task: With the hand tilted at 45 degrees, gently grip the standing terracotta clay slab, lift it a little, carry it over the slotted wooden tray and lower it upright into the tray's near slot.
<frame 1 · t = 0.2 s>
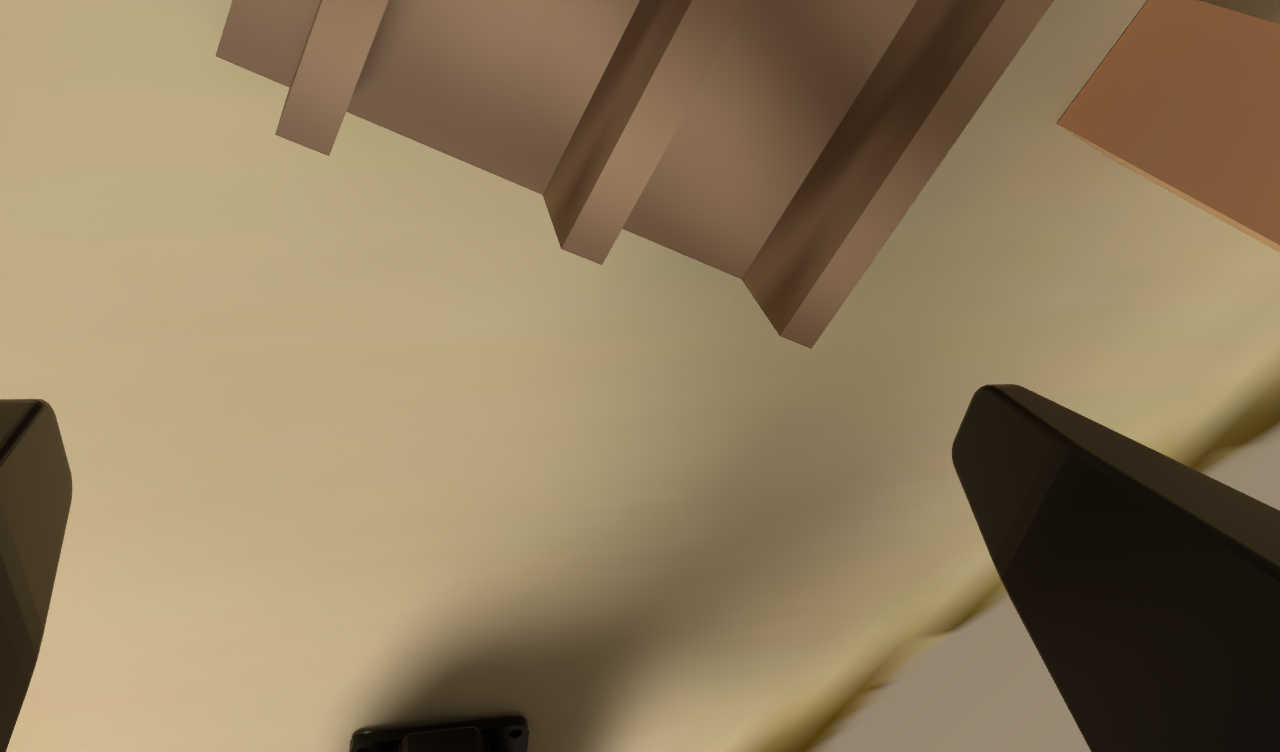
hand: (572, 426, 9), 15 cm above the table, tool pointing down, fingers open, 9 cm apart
clay slab: (1139, 81, 25), on the table
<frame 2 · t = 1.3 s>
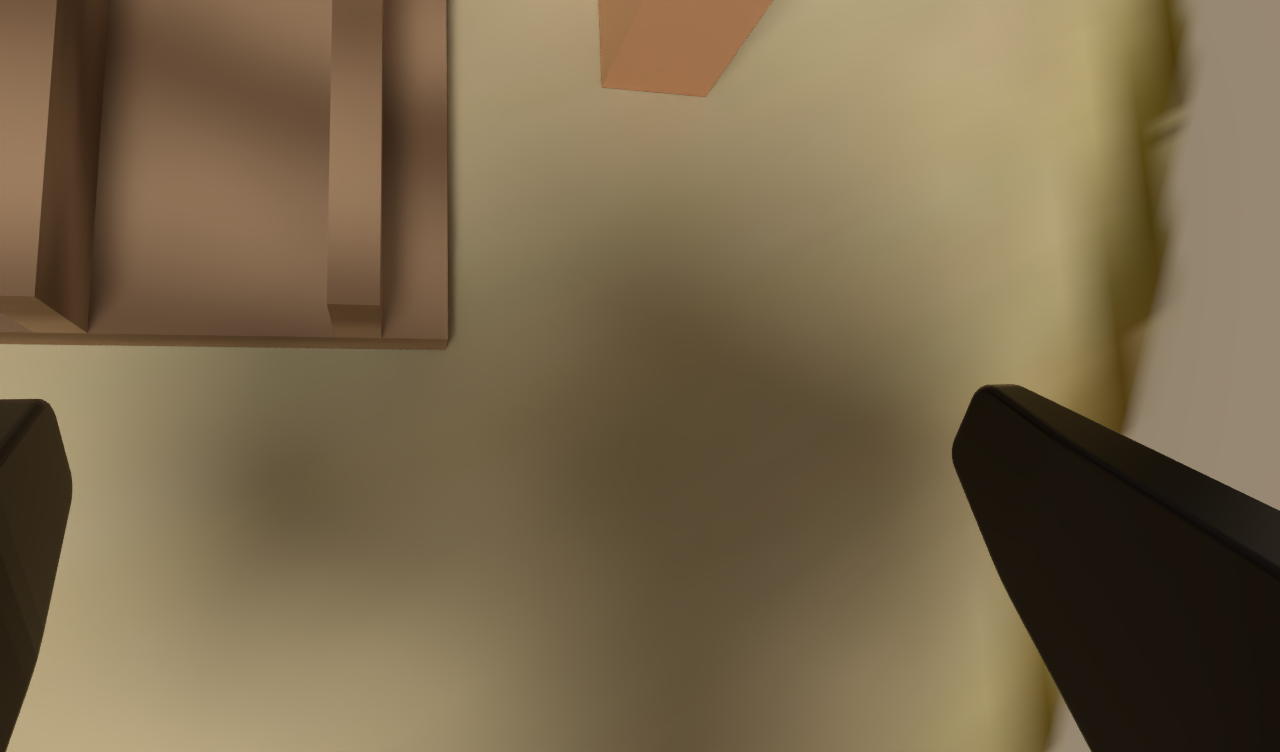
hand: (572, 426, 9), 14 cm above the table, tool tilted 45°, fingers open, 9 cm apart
clay slab: (651, 25, 25), on the table
slotted wooden tray: (95, 94, 21), on the table
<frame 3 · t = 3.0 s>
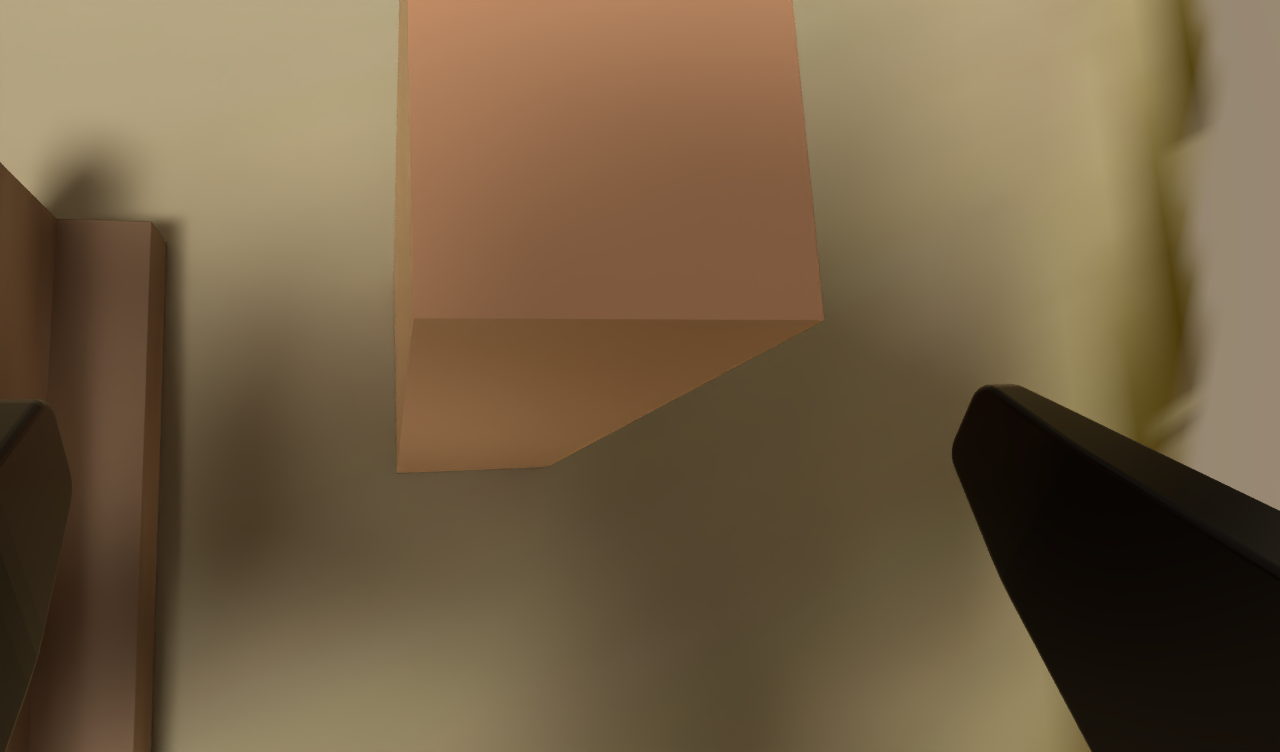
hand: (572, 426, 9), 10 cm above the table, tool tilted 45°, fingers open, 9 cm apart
clay slab: (470, 372, 19), on the table
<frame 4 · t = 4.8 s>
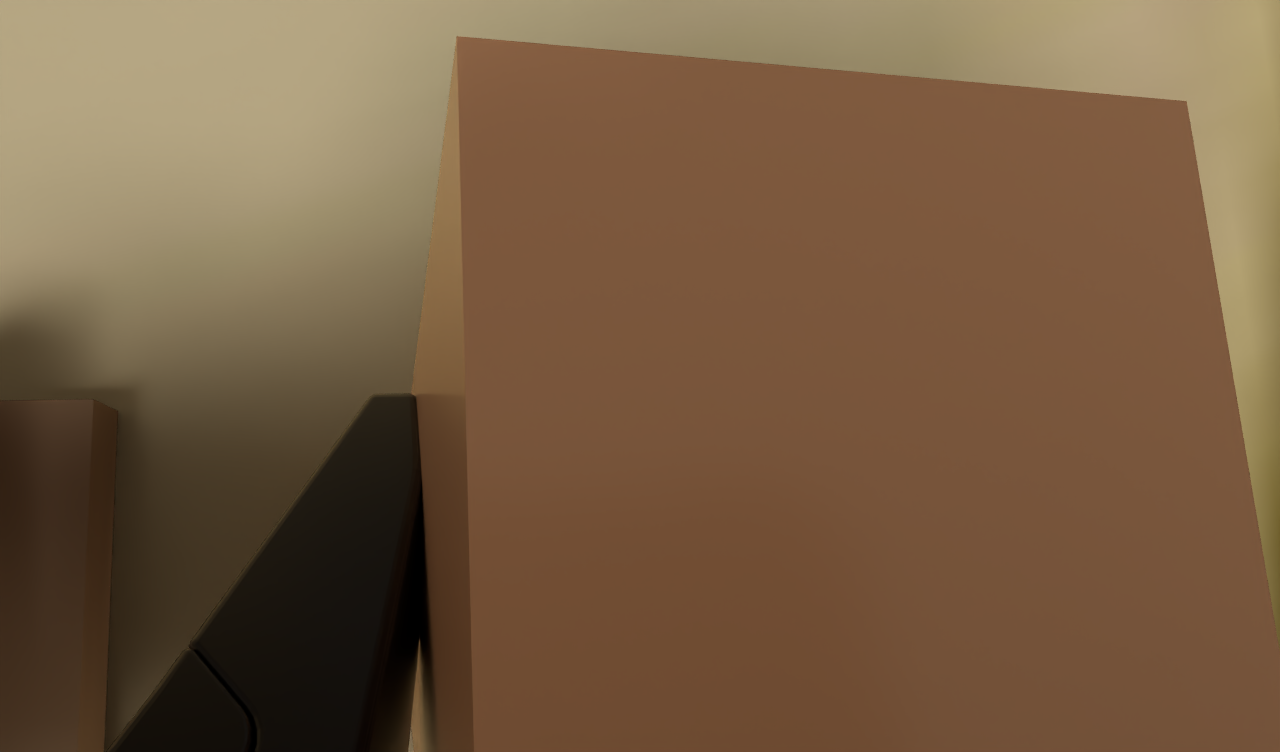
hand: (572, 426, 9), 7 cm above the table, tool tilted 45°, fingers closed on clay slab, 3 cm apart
clay slab: (500, 560, 15), on the table, touching gripper
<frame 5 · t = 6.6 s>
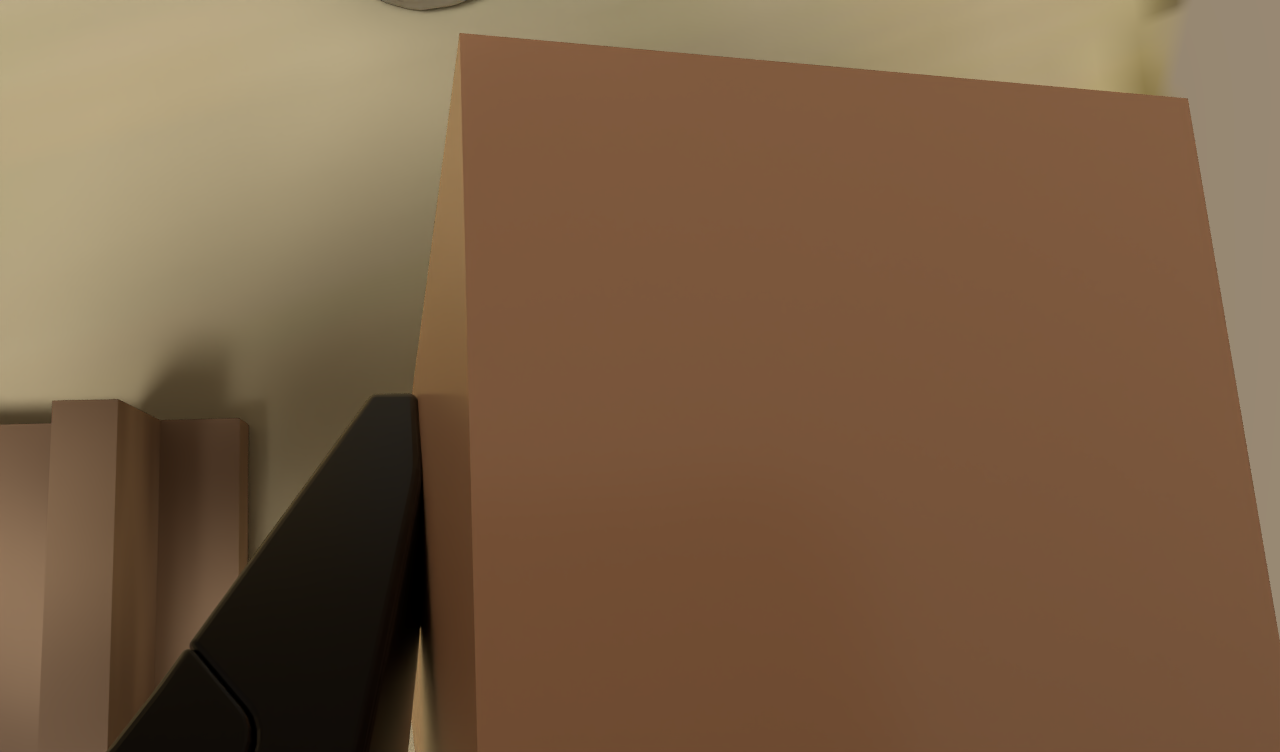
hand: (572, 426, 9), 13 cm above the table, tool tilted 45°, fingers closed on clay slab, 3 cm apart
clay slab: (500, 559, 15), point 6 cm above the table, touching gripper
when the fingers open (9 cm above the table, at t = 8.7 s): clay slab drops 1 cm, resting on slotted wooden tray.
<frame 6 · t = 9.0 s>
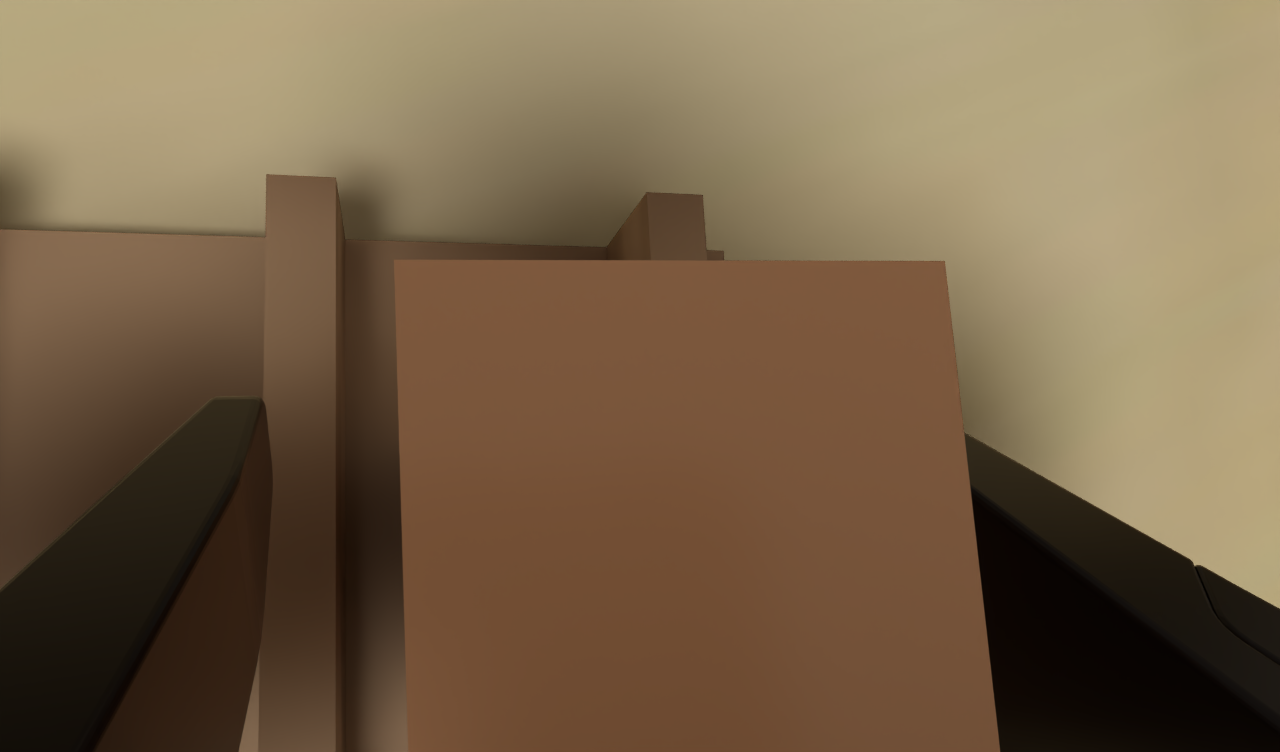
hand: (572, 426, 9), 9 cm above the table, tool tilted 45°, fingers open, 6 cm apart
clay slab: (494, 551, 16), point 1 cm above the table, touching slotted wooden tray
slotted wooden tray: (320, 568, 17), on the table
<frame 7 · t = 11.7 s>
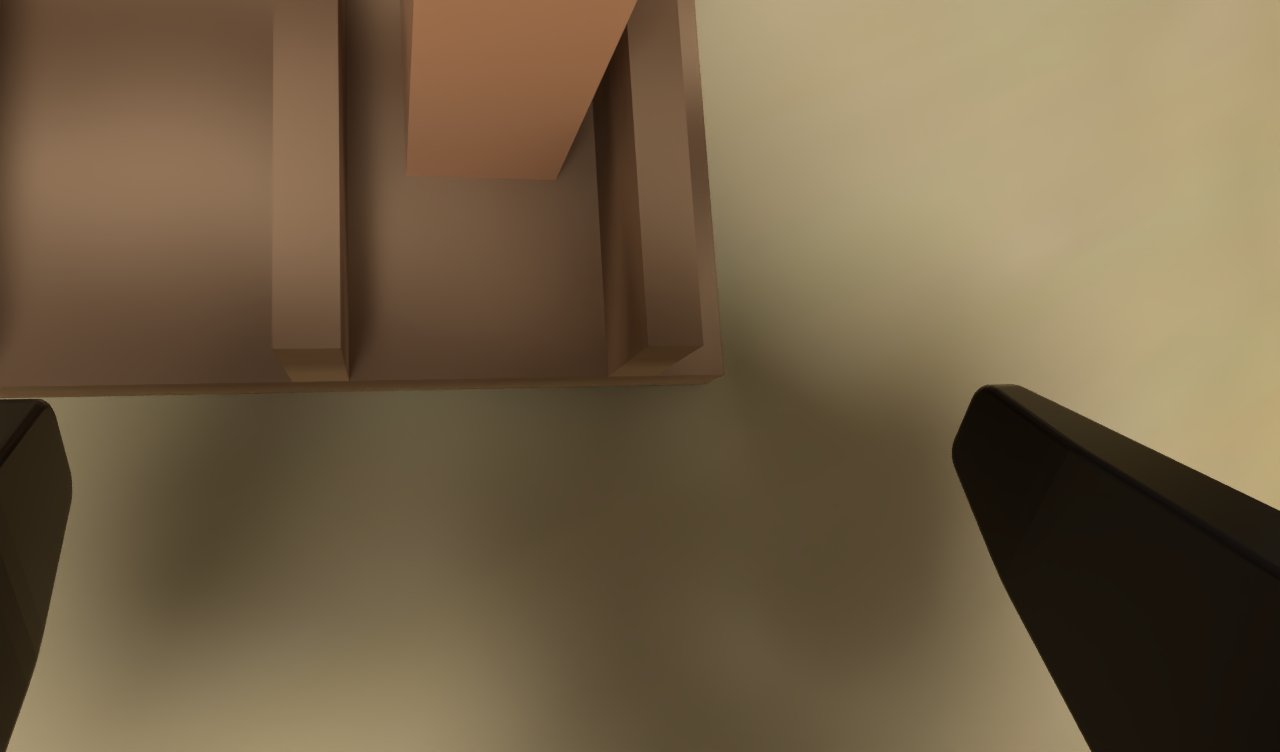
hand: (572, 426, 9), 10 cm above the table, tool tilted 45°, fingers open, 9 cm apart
clay slab: (477, 86, 19), point 1 cm above the table, touching slotted wooden tray
slotted wooden tray: (323, 109, 19), on the table
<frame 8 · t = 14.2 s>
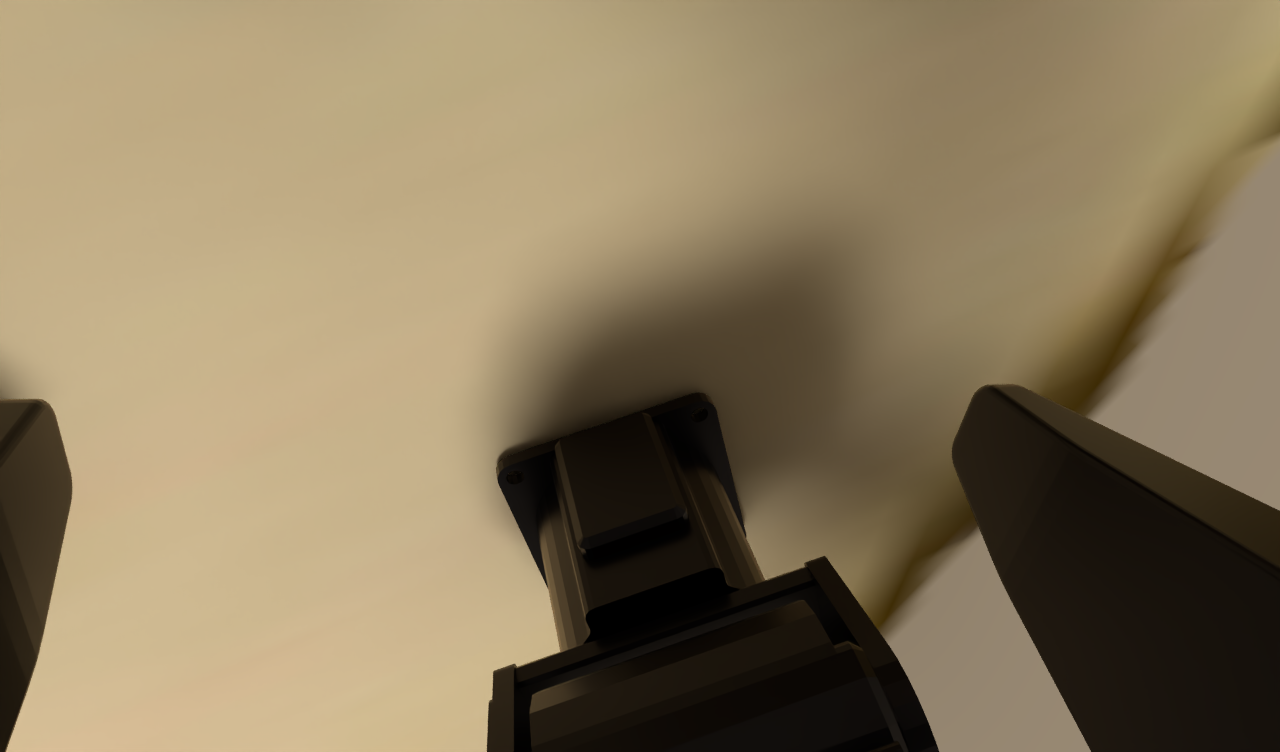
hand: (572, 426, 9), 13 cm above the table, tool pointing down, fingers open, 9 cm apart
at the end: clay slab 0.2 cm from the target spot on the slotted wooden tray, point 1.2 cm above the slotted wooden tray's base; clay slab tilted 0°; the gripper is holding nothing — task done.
